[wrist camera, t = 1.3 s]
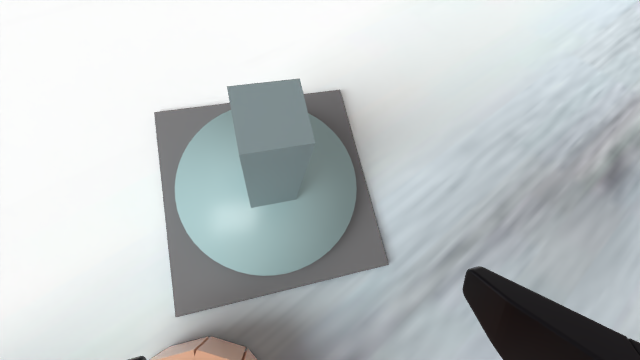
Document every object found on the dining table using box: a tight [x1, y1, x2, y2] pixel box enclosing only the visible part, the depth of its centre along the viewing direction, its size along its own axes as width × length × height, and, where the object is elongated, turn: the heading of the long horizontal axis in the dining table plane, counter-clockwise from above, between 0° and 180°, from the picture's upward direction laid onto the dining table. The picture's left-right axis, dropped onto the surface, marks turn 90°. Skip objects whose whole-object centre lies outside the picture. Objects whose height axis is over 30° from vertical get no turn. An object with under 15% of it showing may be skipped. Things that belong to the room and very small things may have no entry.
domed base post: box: [175, 79, 357, 276], centre depth 18 cm, size 12×12×10 cm
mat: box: [154, 90, 389, 317], centre depth 23 cm, size 14×14×1 cm
